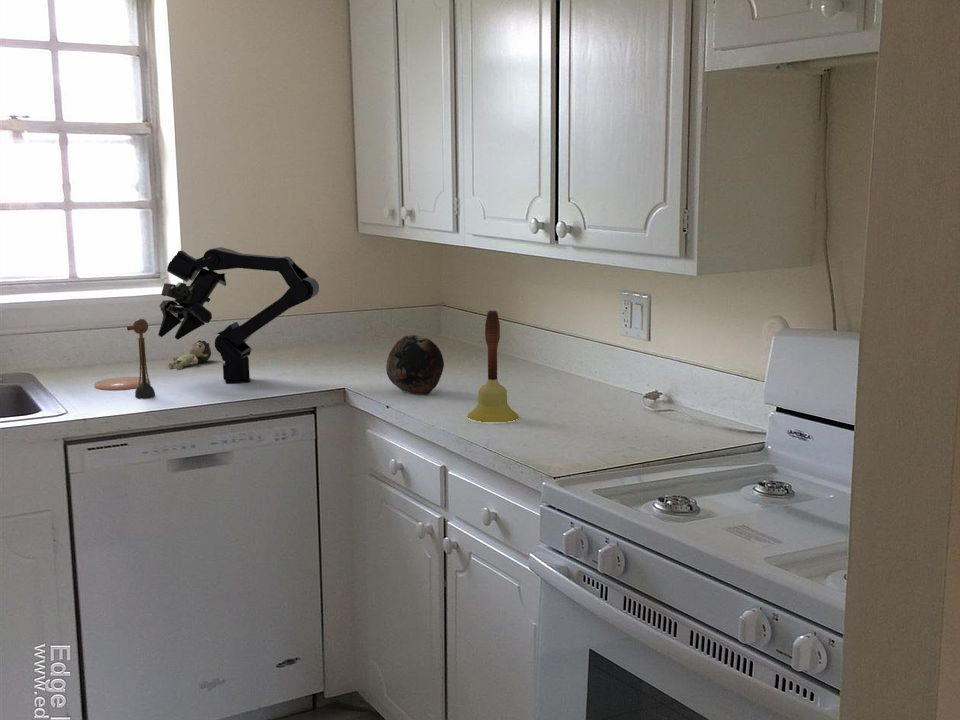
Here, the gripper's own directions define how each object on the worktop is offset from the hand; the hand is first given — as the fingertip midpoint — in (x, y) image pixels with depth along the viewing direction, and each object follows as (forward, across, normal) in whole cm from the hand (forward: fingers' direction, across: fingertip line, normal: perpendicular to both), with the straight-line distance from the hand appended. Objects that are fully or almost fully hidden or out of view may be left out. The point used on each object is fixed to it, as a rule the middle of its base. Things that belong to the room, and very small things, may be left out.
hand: (167, 337), depth 270 cm
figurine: (-3, -25, +22) cm, 34 cm away
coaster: (+15, -13, +3) cm, 20 cm away
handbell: (-12, +82, +40) cm, 92 cm away
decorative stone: (-17, +49, +43) cm, 67 cm away
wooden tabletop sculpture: (+17, +4, +2) cm, 18 cm away
